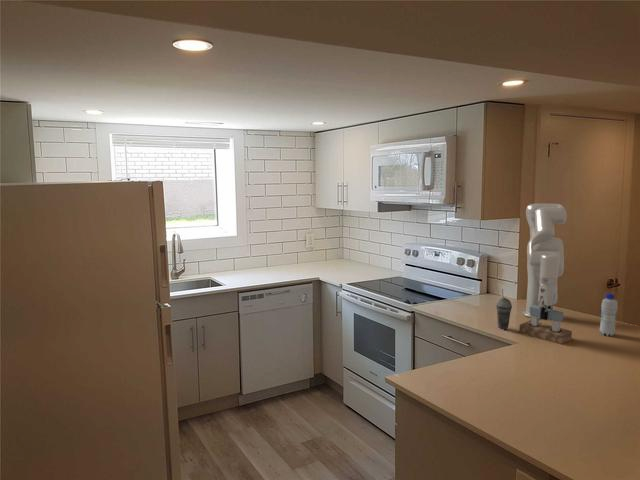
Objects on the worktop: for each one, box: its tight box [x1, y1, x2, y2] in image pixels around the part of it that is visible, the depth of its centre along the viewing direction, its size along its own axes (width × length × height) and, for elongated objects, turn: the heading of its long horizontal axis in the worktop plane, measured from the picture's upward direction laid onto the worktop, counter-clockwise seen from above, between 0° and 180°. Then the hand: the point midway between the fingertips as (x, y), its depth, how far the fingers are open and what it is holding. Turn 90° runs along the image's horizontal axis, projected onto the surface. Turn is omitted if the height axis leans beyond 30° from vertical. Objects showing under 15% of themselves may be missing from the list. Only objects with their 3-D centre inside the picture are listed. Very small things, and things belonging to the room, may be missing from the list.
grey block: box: [530, 306, 564, 332], centre depth 223 cm, size 14×4×9 cm, turn 38°
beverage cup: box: [495, 288, 513, 330], centre depth 233 cm, size 7×7×20 cm
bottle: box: [599, 293, 619, 337], centre depth 224 cm, size 7×7×20 cm
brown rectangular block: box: [518, 320, 573, 345], centre depth 224 cm, size 20×10×4 cm, turn 38°
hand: (545, 318), depth 223 cm, fingers closed on grey block, 3 cm apart
